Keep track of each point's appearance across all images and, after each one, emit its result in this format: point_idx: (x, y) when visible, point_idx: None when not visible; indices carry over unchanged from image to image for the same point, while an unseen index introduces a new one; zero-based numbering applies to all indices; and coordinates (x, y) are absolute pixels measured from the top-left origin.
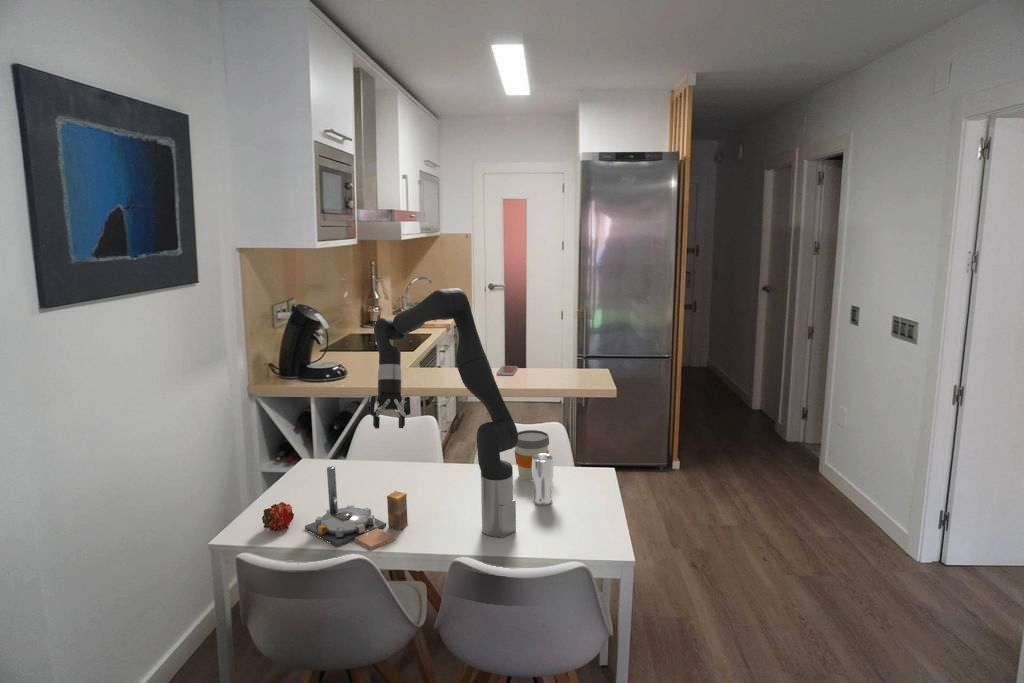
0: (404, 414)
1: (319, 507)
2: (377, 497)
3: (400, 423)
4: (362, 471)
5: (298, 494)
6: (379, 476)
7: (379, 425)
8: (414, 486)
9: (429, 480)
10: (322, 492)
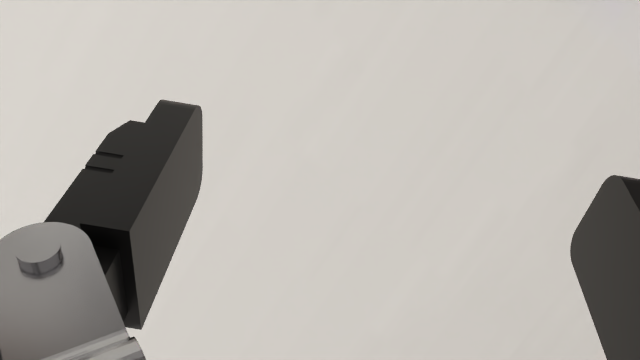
0: (29, 248)
1: (618, 131)
2: (374, 41)
3: (178, 180)
4: (248, 354)
5: (576, 301)
6: (217, 263)
7: (632, 197)
8: (132, 27)
9: (7, 41)
10: (505, 262)
